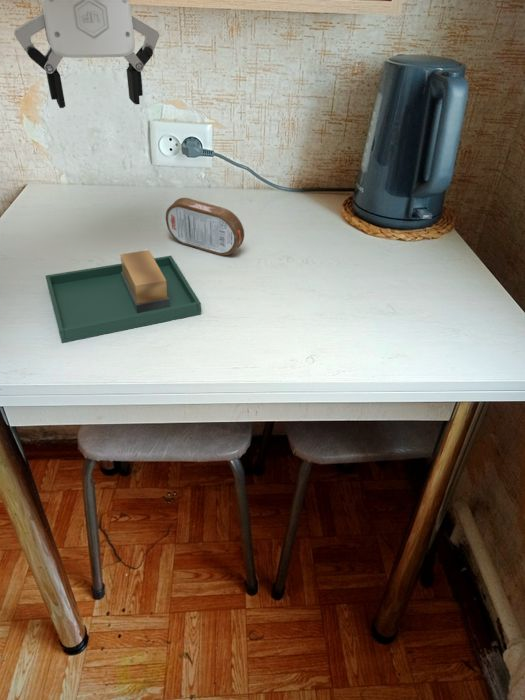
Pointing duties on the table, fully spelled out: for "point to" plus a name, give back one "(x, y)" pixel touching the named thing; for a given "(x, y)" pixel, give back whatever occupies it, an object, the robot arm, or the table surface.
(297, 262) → the table surface
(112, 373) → the table surface
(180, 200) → the tin
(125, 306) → the tray
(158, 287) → the eraser
